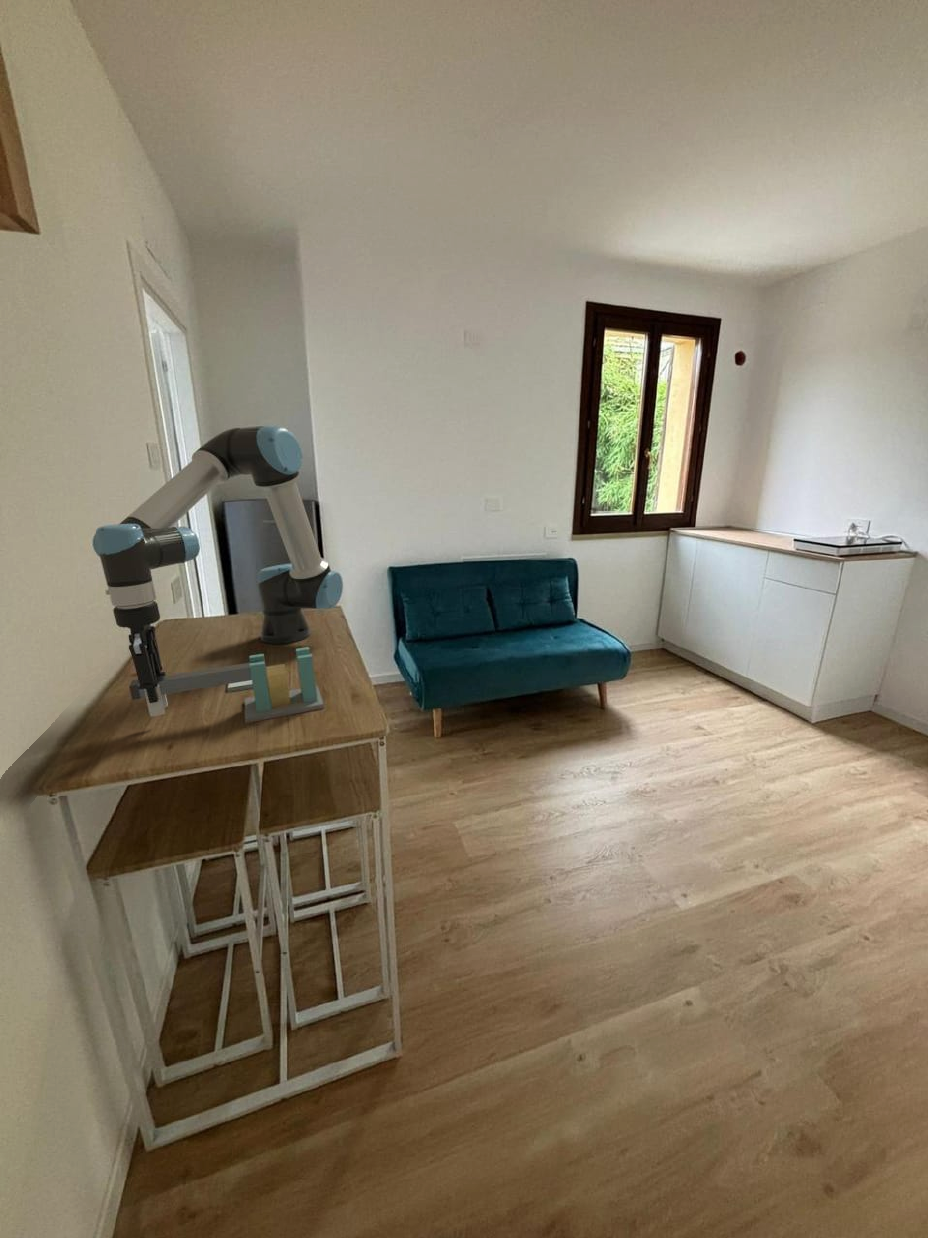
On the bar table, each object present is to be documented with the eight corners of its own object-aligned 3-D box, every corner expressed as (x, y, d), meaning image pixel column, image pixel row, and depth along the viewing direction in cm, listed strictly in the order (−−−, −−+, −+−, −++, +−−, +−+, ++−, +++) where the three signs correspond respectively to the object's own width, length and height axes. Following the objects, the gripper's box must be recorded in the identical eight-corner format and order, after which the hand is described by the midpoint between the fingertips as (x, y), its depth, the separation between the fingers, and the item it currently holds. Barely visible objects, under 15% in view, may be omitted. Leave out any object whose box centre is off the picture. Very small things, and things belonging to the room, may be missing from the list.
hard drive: (262, 682, 128) (262, 665, 139) (227, 688, 125) (229, 669, 136) (263, 688, 129) (263, 670, 140) (228, 694, 126) (230, 675, 137)
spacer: (271, 697, 120) (266, 666, 117) (288, 694, 121) (284, 663, 119) (271, 708, 114) (266, 676, 112) (290, 705, 116) (286, 673, 113)
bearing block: (245, 702, 120) (237, 654, 116) (317, 689, 126) (312, 643, 122) (245, 723, 110) (236, 671, 107) (323, 708, 116) (318, 658, 112)
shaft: (135, 694, 107) (132, 680, 106) (264, 673, 116) (263, 660, 115) (132, 700, 104) (128, 686, 103) (265, 678, 113) (263, 665, 112)
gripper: (121, 597, 107) (145, 699, 114) (102, 617, 93) (131, 732, 100) (162, 592, 110) (183, 692, 117) (149, 611, 95) (174, 724, 102)
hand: (159, 710), depth 108 cm, fingers closed on shaft, 3 cm apart
